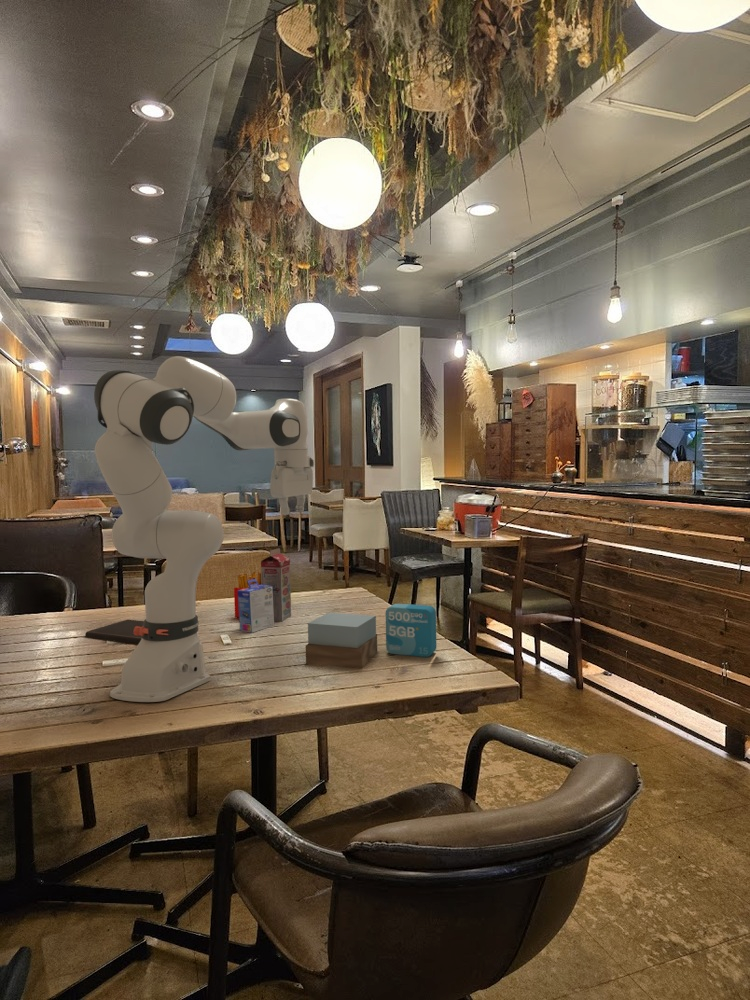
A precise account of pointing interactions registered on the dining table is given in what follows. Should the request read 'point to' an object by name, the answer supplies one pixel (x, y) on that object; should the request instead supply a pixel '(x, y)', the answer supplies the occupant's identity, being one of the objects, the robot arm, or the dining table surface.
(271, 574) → the juice carton
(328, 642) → the slate top block
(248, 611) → the ink cartridge box
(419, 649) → the data package
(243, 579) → the french fries container
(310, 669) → the dining table surface
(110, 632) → the hardcover book
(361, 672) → the dining table surface
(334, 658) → the walnut base block
